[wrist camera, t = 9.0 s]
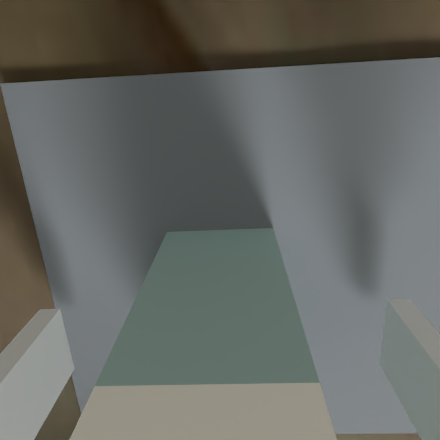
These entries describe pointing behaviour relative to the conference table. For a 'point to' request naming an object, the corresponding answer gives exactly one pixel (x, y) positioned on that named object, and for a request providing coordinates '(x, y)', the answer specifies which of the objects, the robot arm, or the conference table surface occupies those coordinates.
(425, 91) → the slate mat
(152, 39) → the conference table surface
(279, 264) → the painted block
